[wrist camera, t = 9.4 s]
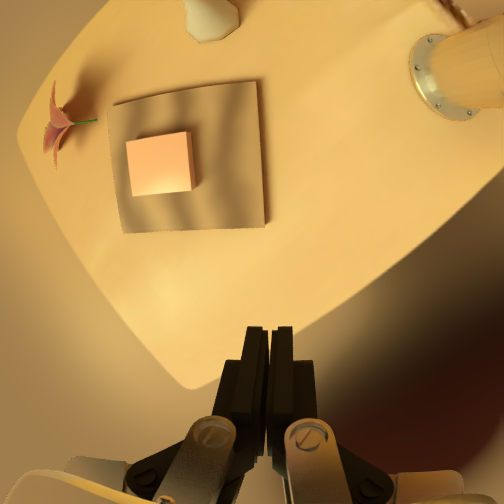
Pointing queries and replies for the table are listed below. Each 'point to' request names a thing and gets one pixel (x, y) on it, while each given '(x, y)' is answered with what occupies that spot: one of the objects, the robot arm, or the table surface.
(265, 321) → the table surface
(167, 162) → the tile
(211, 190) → the board
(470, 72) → the robot arm
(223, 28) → the flask
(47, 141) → the lily
